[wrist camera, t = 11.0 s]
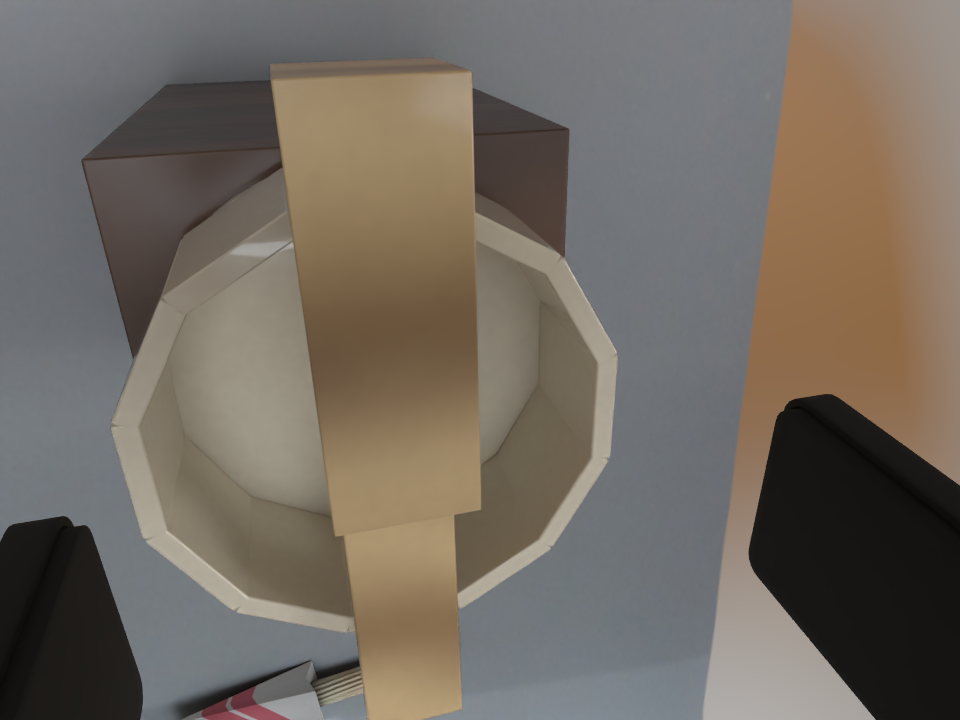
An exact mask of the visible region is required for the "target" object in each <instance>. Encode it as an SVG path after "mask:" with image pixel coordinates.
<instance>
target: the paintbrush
mask: <svg viewBox="0 0 960 720" xmlns="http://www.w3.org/2000/svg"><path fill="white" fill-rule="evenodd" d="M361 693H364V692H363V684H362V677H361V669H360V667H357V668H353V669H350V670H347V671H344V672H341V673H338V674H335V675H332V676H329V677H326V678H323V679H319V680H317V676H316V673H315V670H314V666H313V663H312V661H310V662H307V663H305V664H303V665H301V666H299V667H296V668H294V669H292V670H290V671H288V672H285V673H283V674H281V675H279V676H276V677H274V678H272V679H270V680H268V681H265V682H263V683H261V684H259V685H257V686H254V687H252V688H250V689H248V690H245V691H243V692H241V693H239V694H237V695H234V696H232V697H230V698H228V699H226V700H223V701H221V702H219V703H217V704H214V705H212V706H210V707H208V708H206V709H203V710H201V711H199V712H197V713H195V714H192V715H190V716H188V717H186V718H183V719H181V720H324V718H323V715H322V711H321V708H320V707H321V706H324V705H328V704H331V703H334V702H337V701H340V700H343V699H346V698H349V697H352V696H355V695H358V694H361Z"/></svg>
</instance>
